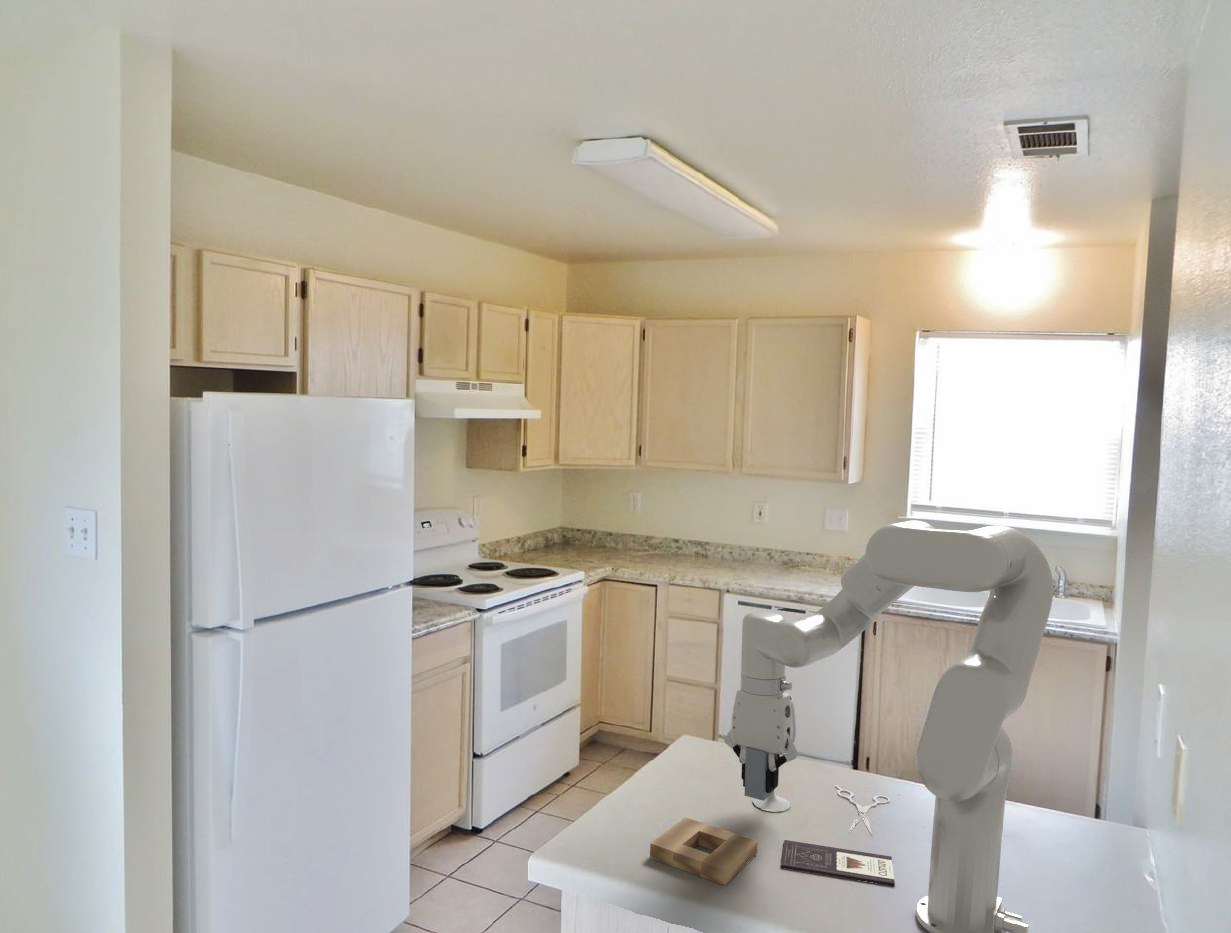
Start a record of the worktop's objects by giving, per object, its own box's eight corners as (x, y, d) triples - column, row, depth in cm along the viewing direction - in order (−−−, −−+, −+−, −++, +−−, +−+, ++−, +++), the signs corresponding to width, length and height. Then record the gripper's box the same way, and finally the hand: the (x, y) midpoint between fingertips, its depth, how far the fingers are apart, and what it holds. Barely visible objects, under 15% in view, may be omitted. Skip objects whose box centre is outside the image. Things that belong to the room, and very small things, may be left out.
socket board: (756, 855, 151) (757, 840, 151) (725, 885, 141) (726, 870, 141) (684, 830, 159) (685, 816, 159) (649, 857, 149) (650, 843, 149)
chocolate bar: (784, 839, 156) (891, 856, 152) (784, 844, 156) (891, 861, 152) (781, 864, 147) (894, 883, 143) (780, 870, 147) (894, 888, 143)
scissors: (889, 793, 178) (891, 837, 159) (889, 796, 178) (891, 842, 159) (835, 784, 181) (830, 827, 162) (834, 788, 181) (830, 831, 162)
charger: (773, 791, 157) (775, 743, 156) (763, 800, 153) (765, 750, 153) (755, 787, 159) (756, 739, 158) (744, 795, 155) (745, 746, 155)
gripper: (815, 687, 154) (812, 791, 154) (728, 671, 163) (726, 769, 164) (799, 698, 147) (796, 807, 148) (709, 680, 156) (707, 783, 157)
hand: (759, 786), depth 156 cm, fingers closed on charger, 3 cm apart
